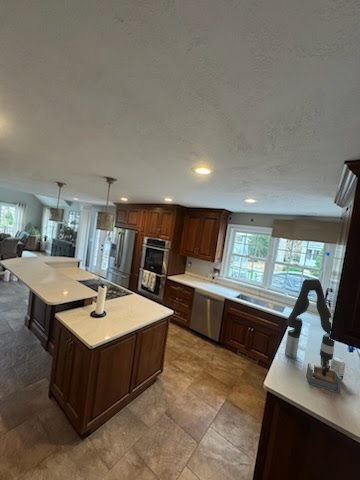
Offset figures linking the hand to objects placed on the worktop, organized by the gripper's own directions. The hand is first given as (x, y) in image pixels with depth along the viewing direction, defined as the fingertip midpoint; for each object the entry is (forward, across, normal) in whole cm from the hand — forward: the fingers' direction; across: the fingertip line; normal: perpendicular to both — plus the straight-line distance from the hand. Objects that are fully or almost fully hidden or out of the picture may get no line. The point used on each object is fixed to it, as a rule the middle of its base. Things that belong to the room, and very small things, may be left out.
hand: (323, 374), depth 148 cm
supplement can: (+7, -14, +12) cm, 20 cm away
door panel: (+5, 0, +1) cm, 5 cm away
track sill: (+7, 0, 0) cm, 7 cm away
